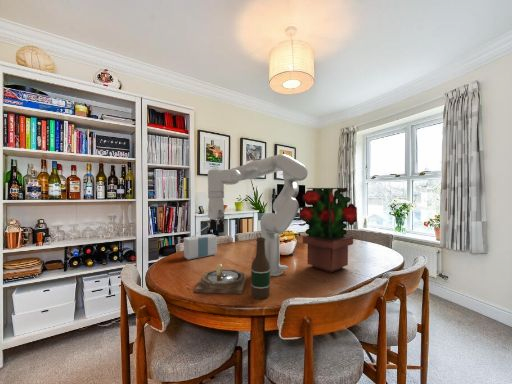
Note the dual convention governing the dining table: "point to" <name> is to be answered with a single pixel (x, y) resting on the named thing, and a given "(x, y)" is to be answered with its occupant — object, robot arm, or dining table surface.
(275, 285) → the dining table surface
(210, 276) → the dial
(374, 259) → the dining table surface
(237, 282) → the dial housing
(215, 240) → the stereo radio cassette player
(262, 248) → the beer bottle
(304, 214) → the potted plant
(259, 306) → the dining table surface
